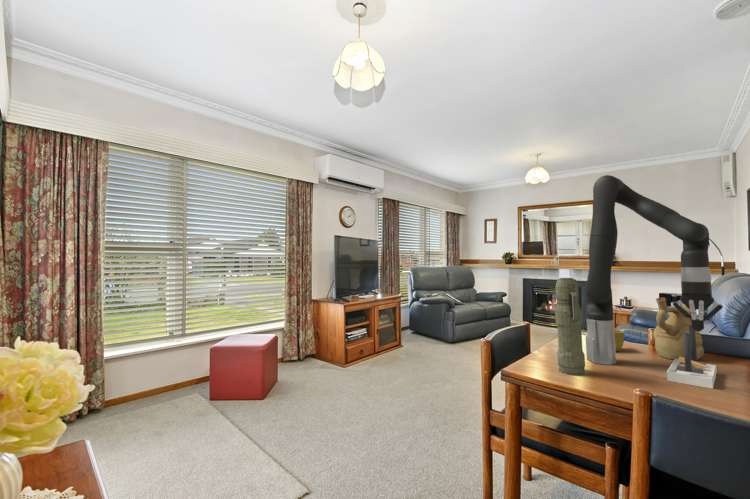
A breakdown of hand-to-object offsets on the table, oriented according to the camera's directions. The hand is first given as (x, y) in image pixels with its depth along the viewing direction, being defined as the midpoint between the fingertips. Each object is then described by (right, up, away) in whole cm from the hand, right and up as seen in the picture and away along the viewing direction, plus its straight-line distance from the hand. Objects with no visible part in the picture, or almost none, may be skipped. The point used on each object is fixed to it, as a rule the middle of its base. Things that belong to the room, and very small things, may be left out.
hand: (698, 330), depth 116 cm
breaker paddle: (-1, -12, +1) cm, 12 cm away
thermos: (-37, -18, +11) cm, 43 cm away
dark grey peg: (-7, -13, -4) cm, 16 cm away
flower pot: (-4, -18, +38) cm, 42 cm away
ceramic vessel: (+14, -17, +24) cm, 33 cm away
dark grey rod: (+5, -13, +7) cm, 16 cm away
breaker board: (-1, -16, +1) cm, 16 cm away
